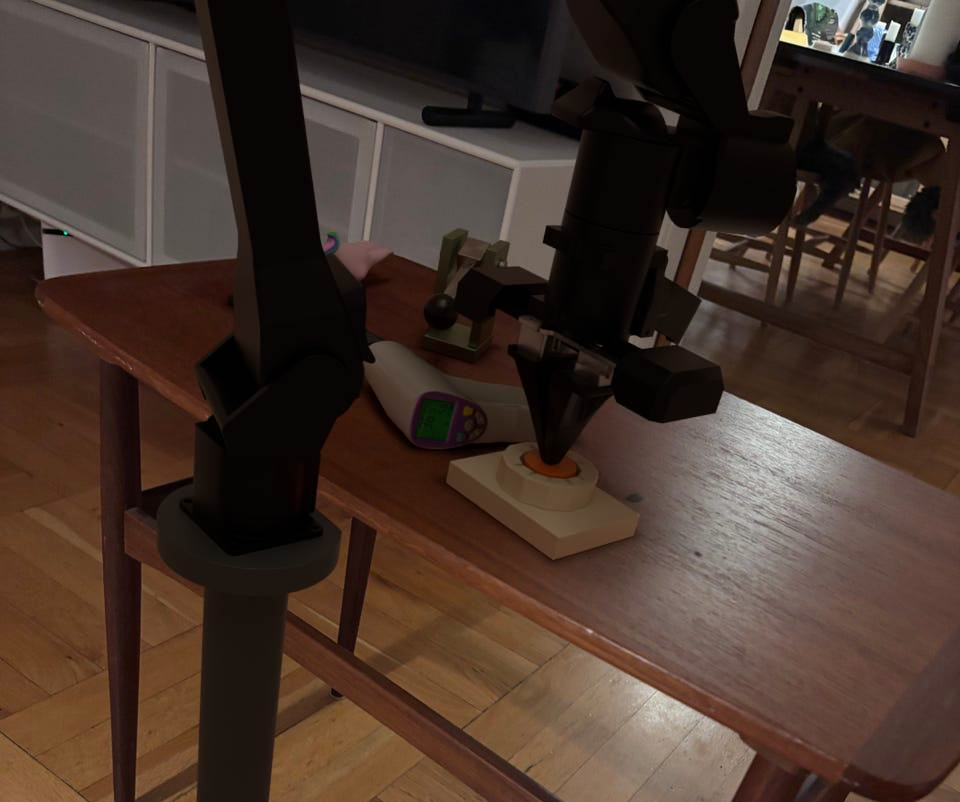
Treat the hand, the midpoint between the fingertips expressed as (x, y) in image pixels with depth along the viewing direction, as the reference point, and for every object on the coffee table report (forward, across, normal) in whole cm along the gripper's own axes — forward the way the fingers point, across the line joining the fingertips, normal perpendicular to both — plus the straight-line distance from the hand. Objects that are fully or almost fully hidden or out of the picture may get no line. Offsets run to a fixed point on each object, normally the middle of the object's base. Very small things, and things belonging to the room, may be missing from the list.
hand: (550, 462), depth 66 cm
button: (+2, 0, 0) cm, 2 cm away
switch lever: (-2, +25, -12) cm, 28 cm away
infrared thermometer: (+4, +14, -5) cm, 15 cm away
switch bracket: (+4, +27, -15) cm, 31 cm away
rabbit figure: (+4, +44, -13) cm, 46 cm away
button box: (+4, 0, 0) cm, 4 cm away
